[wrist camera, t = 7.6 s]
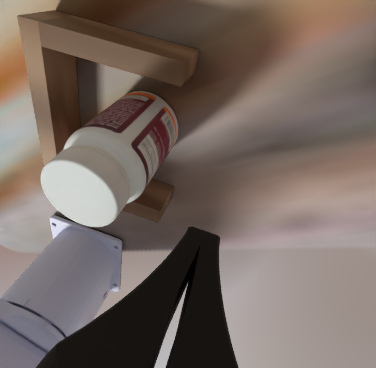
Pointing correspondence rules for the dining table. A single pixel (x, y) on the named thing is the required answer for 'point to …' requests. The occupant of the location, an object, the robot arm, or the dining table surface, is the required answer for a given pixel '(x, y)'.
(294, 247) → the dining table surface
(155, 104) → the pill bottle
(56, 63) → the walnut corral
